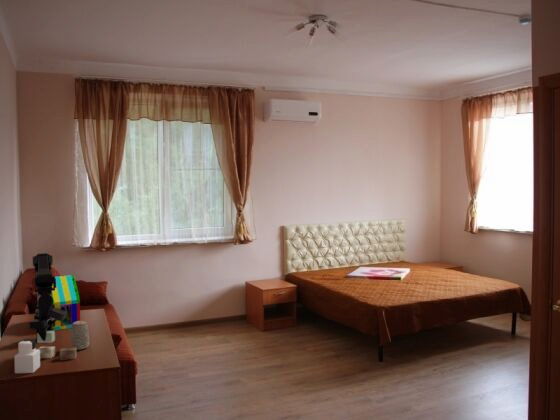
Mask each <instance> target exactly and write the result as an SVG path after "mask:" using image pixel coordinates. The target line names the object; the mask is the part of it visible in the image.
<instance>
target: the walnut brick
mask: <svg viewBox="0 0 560 420" xmlns="http://www.w3.org/2000/svg"><path fill="white" fill-rule="evenodd" d="M77 352H78V350H77V349H76V347H74V348H73V347H63V348H60V350H59V361H69V360H68V359H70V360H76V358H77V354H78V353H77Z"/></svg>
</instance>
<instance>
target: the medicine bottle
mask: <svg viewBox="0 0 560 420" xmlns="http://www.w3.org/2000/svg"><path fill="white" fill-rule="evenodd" d="M17 348H18V352H17V354H14V358H13V360H14V363H13V364H14V374H34V373H35V372H36V371H37V370H38V369H39V368H40V367H41V358H40V350H37V348H36V341H35V339H33V338H26V339H22V340H20V341H19V342H18V347H17Z"/></svg>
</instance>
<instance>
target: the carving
mask: <svg viewBox="0 0 560 420" xmlns="http://www.w3.org/2000/svg"><path fill="white" fill-rule="evenodd" d="M70 334H71V335H70V338H71V344H72V348H74V347H76V349H77V351H78V350H83V349H86V348H88V347H89V345H90V331H89V325H88V323H87V321H84V320H80V321H76V322H74V323H73V324H72V328H71V331H70Z"/></svg>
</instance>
